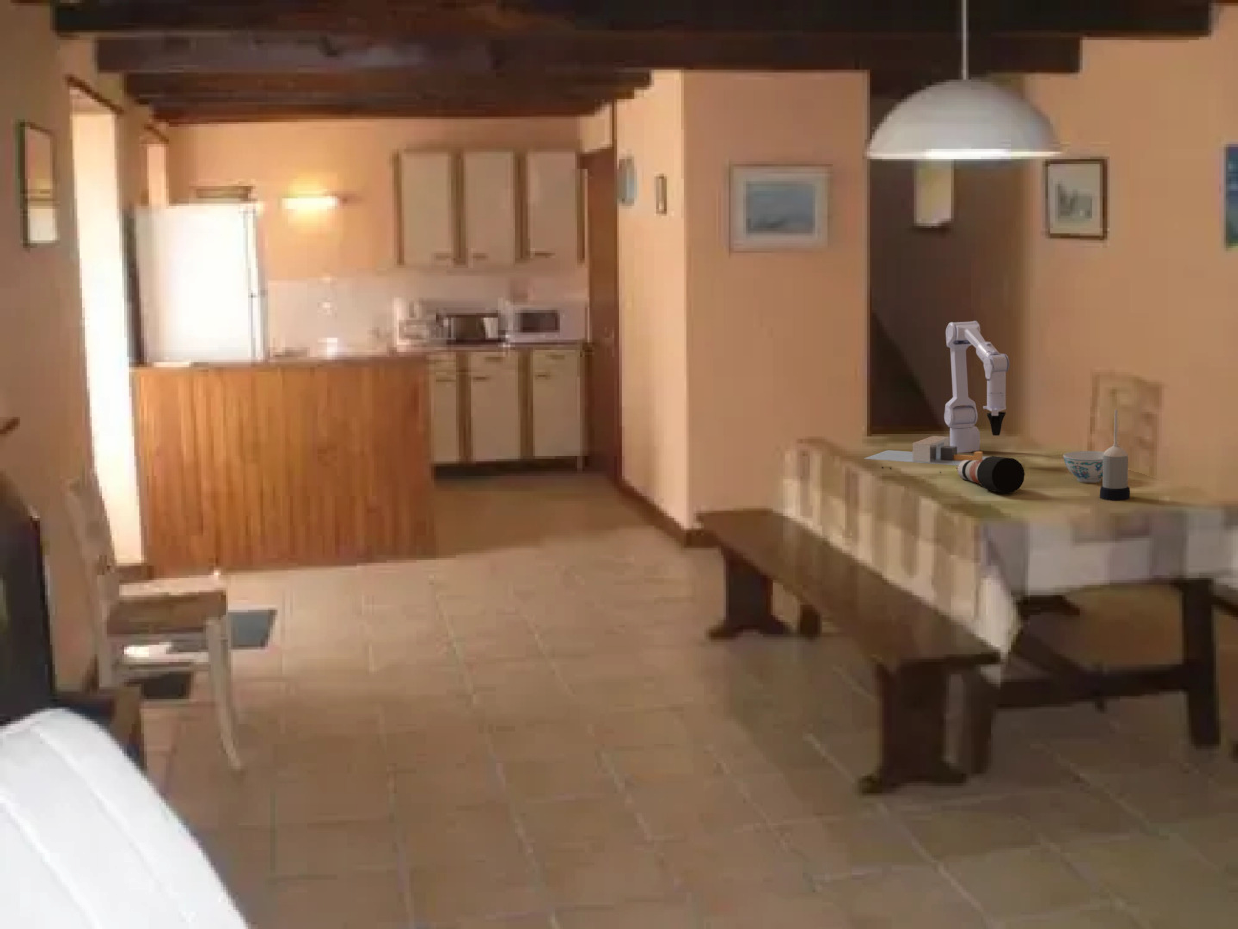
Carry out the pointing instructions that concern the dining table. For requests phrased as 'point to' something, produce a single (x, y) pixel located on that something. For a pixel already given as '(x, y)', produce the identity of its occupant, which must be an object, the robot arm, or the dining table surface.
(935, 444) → the grey arch block
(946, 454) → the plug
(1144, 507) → the dining table surface
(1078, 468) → the chinaware
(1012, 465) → the striped cylinder
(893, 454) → the board
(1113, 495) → the nozzle bottle
